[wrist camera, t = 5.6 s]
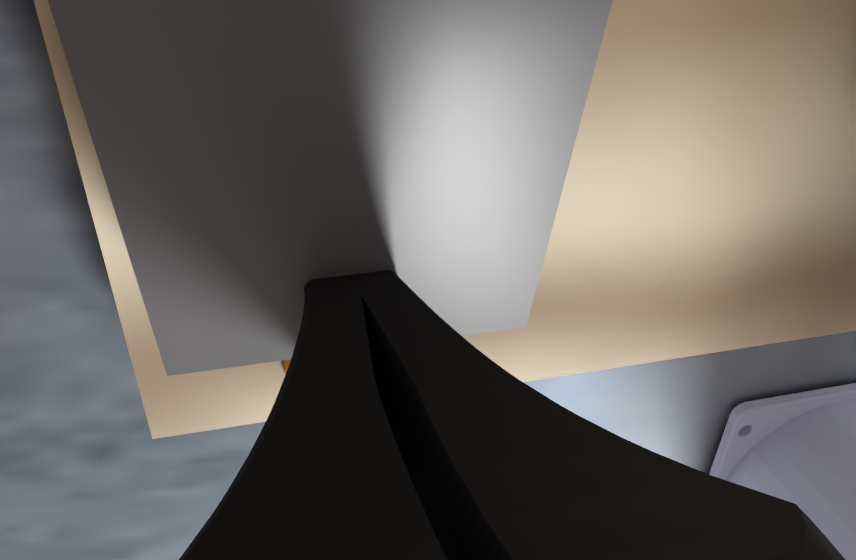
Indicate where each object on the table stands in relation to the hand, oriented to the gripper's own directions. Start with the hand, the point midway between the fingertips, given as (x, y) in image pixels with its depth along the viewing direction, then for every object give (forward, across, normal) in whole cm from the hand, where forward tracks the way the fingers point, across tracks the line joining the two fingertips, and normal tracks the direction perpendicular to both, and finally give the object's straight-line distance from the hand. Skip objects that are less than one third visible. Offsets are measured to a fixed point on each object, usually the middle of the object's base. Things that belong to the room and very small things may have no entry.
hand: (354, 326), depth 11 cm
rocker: (0, 0, -4) cm, 4 cm away
